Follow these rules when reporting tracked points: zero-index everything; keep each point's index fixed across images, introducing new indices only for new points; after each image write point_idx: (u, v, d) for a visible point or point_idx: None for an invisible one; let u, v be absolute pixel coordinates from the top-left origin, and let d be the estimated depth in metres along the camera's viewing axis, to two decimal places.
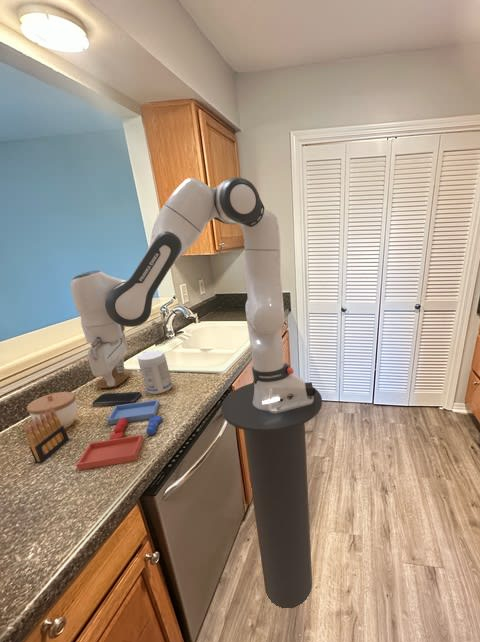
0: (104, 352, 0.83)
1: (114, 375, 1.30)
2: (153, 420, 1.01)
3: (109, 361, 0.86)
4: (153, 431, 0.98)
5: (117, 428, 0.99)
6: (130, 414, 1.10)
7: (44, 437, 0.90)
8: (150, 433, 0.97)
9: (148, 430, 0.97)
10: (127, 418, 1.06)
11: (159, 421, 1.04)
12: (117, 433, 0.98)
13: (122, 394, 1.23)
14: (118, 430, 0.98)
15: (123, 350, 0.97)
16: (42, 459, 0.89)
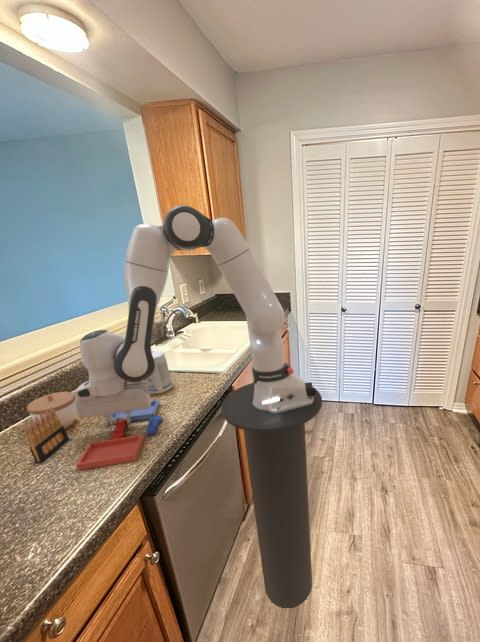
0: None
1: None
2: (153, 420, 1.01)
3: None
4: (153, 431, 0.98)
5: (117, 428, 0.99)
6: None
7: (44, 437, 0.90)
8: (150, 433, 0.97)
9: (148, 430, 0.97)
10: None
11: (159, 421, 1.04)
12: (117, 433, 0.98)
13: None
14: (119, 430, 0.98)
15: None
16: (42, 459, 0.89)
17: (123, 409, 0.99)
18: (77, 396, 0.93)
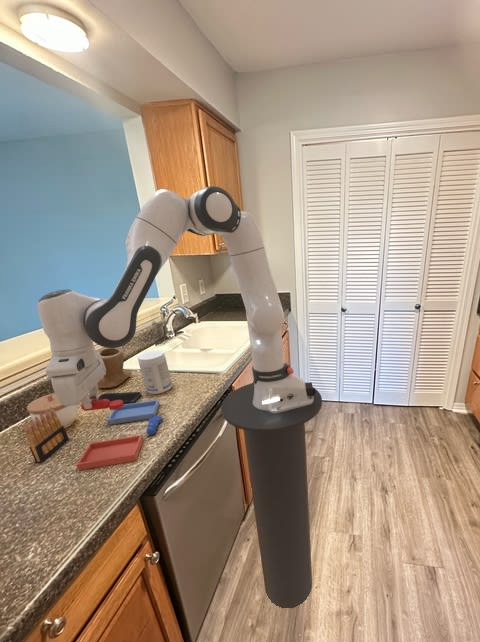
0: None
1: (114, 375, 1.30)
2: (153, 420, 1.01)
3: None
4: (153, 431, 0.98)
5: (106, 400, 0.88)
6: (130, 414, 1.10)
7: (44, 437, 0.90)
8: (150, 433, 0.97)
9: (148, 430, 0.97)
10: (127, 418, 1.06)
11: (159, 421, 1.04)
12: (112, 403, 0.88)
13: (122, 394, 1.23)
14: (109, 401, 0.88)
15: None
16: (42, 459, 0.89)
17: (96, 380, 0.87)
18: (77, 371, 0.76)
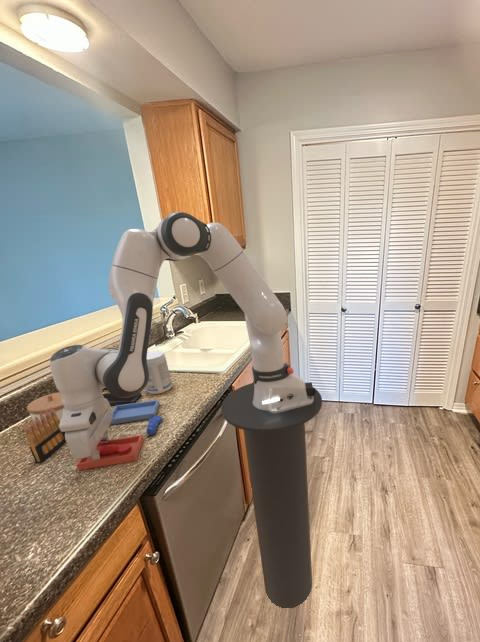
0: None
1: None
2: (153, 420, 1.01)
3: None
4: (153, 431, 0.98)
5: (115, 445, 0.90)
6: (130, 414, 1.10)
7: (44, 437, 0.90)
8: (150, 433, 0.97)
9: (148, 430, 0.97)
10: (127, 418, 1.06)
11: (159, 421, 1.04)
12: (120, 447, 0.91)
13: None
14: (117, 445, 0.91)
15: None
16: (42, 459, 0.89)
17: (105, 427, 0.90)
18: (90, 425, 0.78)
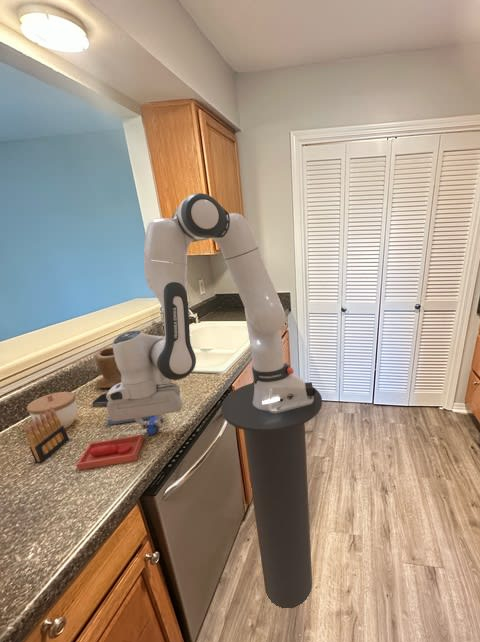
0: None
1: (114, 375, 1.30)
2: (153, 420, 1.01)
3: None
4: (153, 431, 0.98)
5: (115, 445, 0.90)
6: None
7: (44, 437, 0.90)
8: (150, 433, 0.97)
9: (148, 430, 0.97)
10: None
11: None
12: (120, 447, 0.91)
13: None
14: (117, 445, 0.91)
15: None
16: (42, 459, 0.89)
17: (155, 412, 0.96)
18: (109, 399, 0.90)
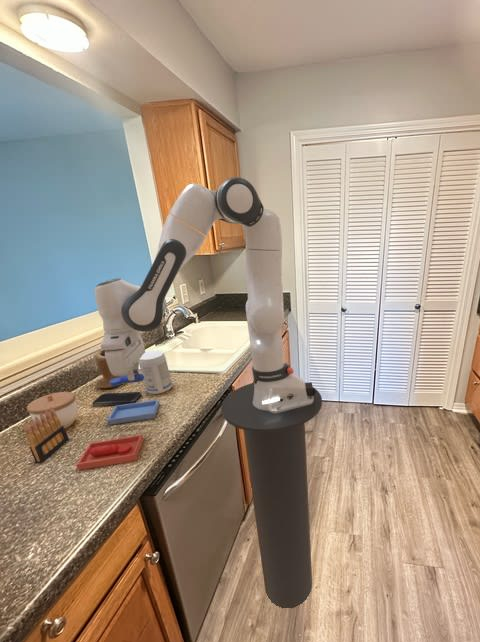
0: None
1: None
2: None
3: None
4: None
5: (115, 445, 0.90)
6: (130, 414, 1.10)
7: (44, 437, 0.90)
8: (143, 377, 1.03)
9: (141, 375, 1.02)
10: (127, 418, 1.06)
11: None
12: (120, 447, 0.91)
13: (122, 394, 1.23)
14: (117, 445, 0.91)
15: None
16: (42, 459, 0.89)
17: (138, 356, 1.02)
18: (125, 346, 0.90)
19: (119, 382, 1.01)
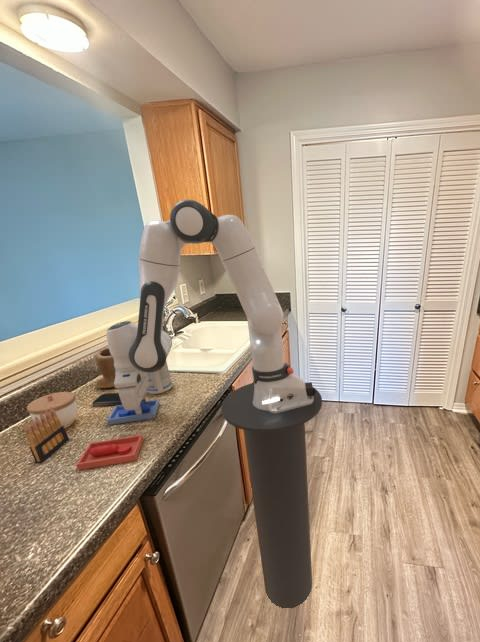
0: None
1: (114, 375, 1.30)
2: None
3: None
4: None
5: (115, 445, 0.90)
6: (130, 414, 1.10)
7: (44, 437, 0.90)
8: (150, 407, 1.11)
9: (148, 406, 1.10)
10: (127, 418, 1.06)
11: None
12: (120, 447, 0.91)
13: None
14: (117, 445, 0.91)
15: None
16: (42, 459, 0.89)
17: (145, 389, 1.11)
18: (137, 383, 0.99)
19: (127, 413, 1.09)
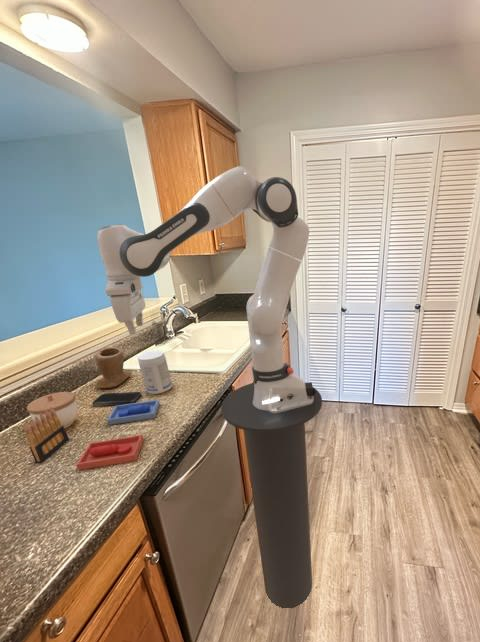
0: None
1: (114, 375, 1.30)
2: (133, 406, 1.10)
3: None
4: None
5: (115, 445, 0.90)
6: (130, 414, 1.10)
7: (44, 437, 0.90)
8: (150, 407, 1.11)
9: (148, 406, 1.10)
10: (127, 418, 1.06)
11: None
12: (120, 447, 0.91)
13: (122, 394, 1.23)
14: (117, 445, 0.91)
15: None
16: (42, 459, 0.89)
17: (140, 309, 1.02)
18: (131, 291, 0.90)
19: (127, 413, 1.09)
